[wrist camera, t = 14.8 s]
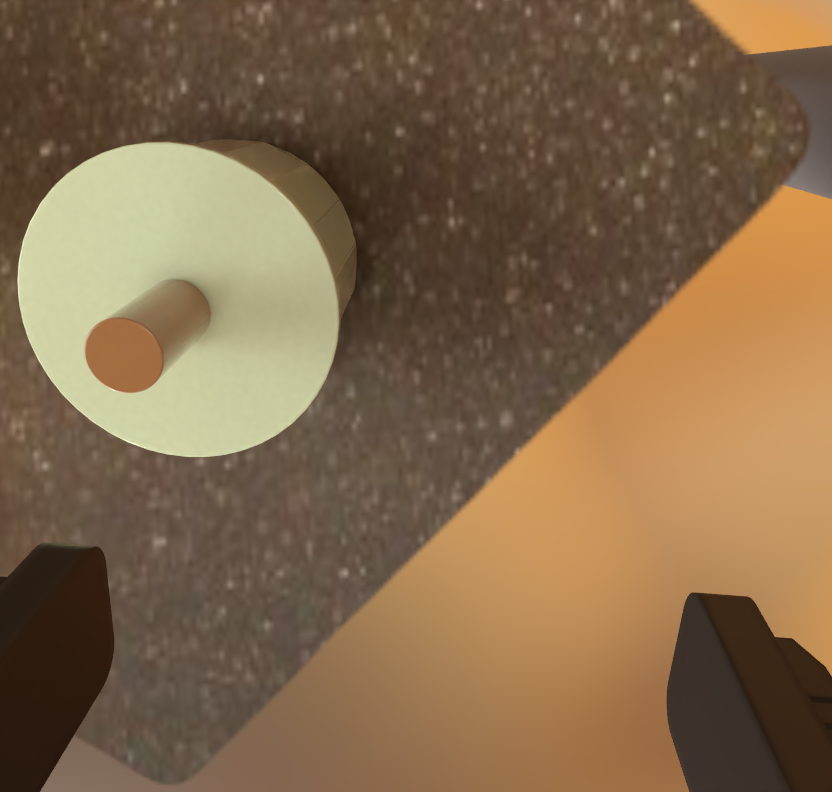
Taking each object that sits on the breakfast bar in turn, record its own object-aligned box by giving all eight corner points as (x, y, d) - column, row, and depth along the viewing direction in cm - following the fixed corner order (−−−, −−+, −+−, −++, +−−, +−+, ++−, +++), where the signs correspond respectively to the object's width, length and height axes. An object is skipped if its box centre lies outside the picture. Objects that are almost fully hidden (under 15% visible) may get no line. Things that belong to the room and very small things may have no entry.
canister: (360, 146, 39) (329, 166, 29) (354, 368, 43) (325, 450, 33) (126, 132, 39) (18, 147, 29) (143, 354, 43) (54, 432, 34)
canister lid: (346, 150, 29) (318, 167, 23) (339, 455, 34) (314, 537, 28) (12, 129, 30) (-104, 141, 23) (50, 435, 34) (-39, 512, 28)
